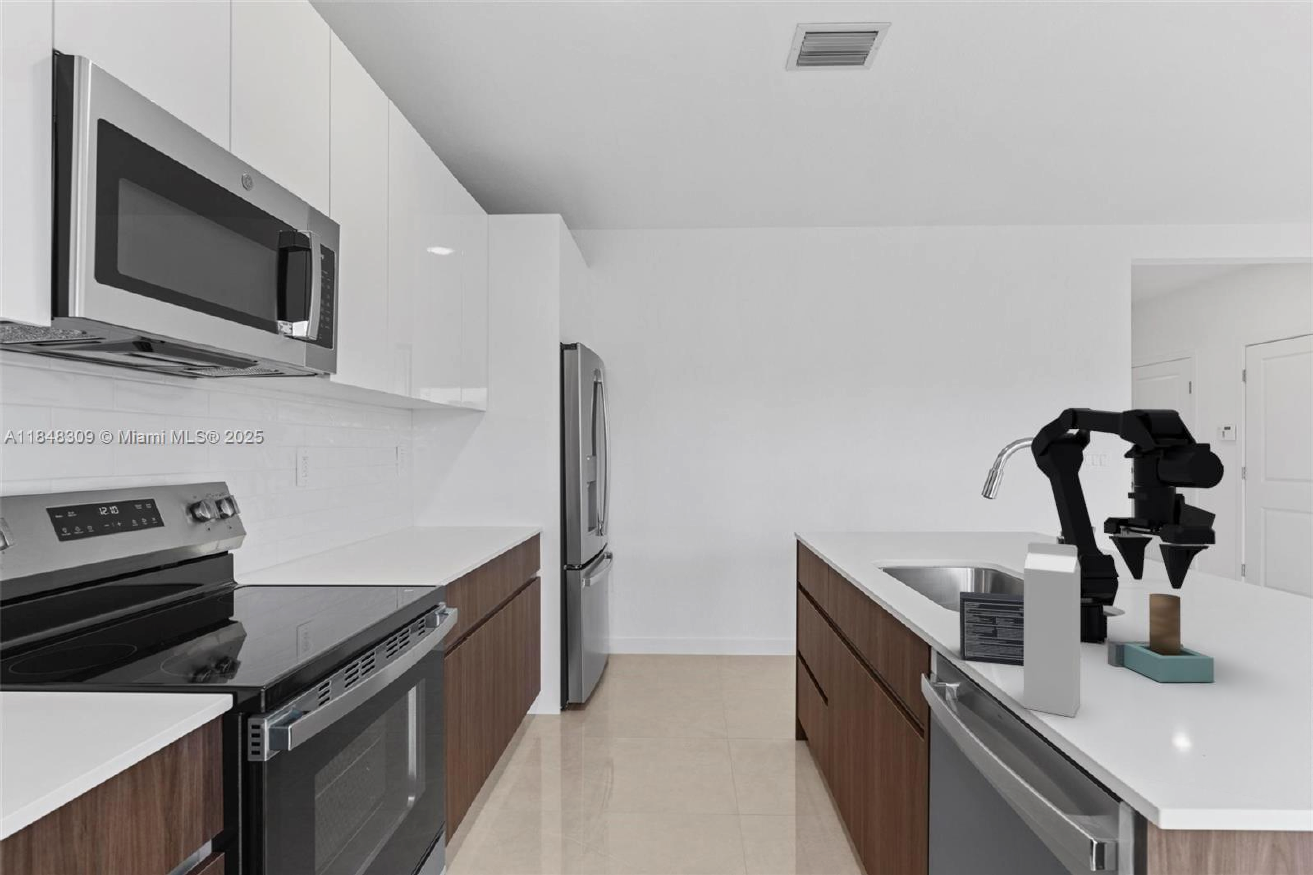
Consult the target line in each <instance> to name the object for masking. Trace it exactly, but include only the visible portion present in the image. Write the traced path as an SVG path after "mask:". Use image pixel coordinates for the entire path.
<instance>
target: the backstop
mask: <svg viewBox="0 0 1313 875" xmlns="http://www.w3.org/2000/svg"><path fill="white" fill-rule="evenodd" d="M1124 644H1150V641H1107V664H1108V665H1111V666H1114V667H1116V668H1123V667H1124V668H1125V667H1126V666H1124ZM1181 646H1182V647H1184V644H1183V643H1181ZM1126 668H1127V667H1126Z"/></svg>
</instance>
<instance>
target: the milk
mask: <svg viewBox="0 0 1313 875" xmlns="http://www.w3.org/2000/svg"><path fill="white" fill-rule="evenodd" d="M1023 595H1024V665H1023V708H1024V709H1029V710H1033V711H1039V712H1042V713H1043V712H1044V713H1047V714H1048V713H1049V714H1054V715H1059V716H1064V717H1069V718H1074V717H1075V715H1076V714H1077V712H1078V710H1079V708H1080V706H1081V641H1080V564H1079V561H1078V558H1077V547H1076V546H1075V545H1066V544H1065V543H1063V544H1061V543H1059V544H1058V543H1048V542H1037V541H1036V542H1033V541H1030V542H1029V543H1028V544H1027V555H1026V559H1025V563H1024V566H1023Z"/></svg>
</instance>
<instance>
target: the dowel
mask: <svg viewBox="0 0 1313 875" xmlns="http://www.w3.org/2000/svg"><path fill="white" fill-rule="evenodd" d="M1148 597H1149V599H1148V600H1149V601H1148V602H1149V603H1148V604H1149V613H1148V614H1149V615H1148V618H1149V621H1148V622H1149V629H1148V630H1149V634H1148V635H1149V641H1148V642H1150V651H1152V652H1154V653H1157V654H1159V655H1162V656H1181V644H1182V643H1181V635H1182V634H1181V633H1182V632H1181V629H1182V628H1181V626H1182V625H1181V623H1182V622H1181V597H1180V596H1178V595H1175V594H1168V593H1150V594H1149V596H1148Z"/></svg>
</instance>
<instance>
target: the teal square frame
mask: <svg viewBox="0 0 1313 875" xmlns="http://www.w3.org/2000/svg"><path fill="white" fill-rule="evenodd" d="M1214 659H1215V658H1214V657H1211V656H1208V655H1205V654H1203V653H1200V652H1197V651H1195V650H1191V649H1190V648H1188V647H1184V646H1183V647H1182V646H1181V656H1162V655H1159V654H1157V653H1154V652H1152V651H1150V644H1124V666H1126V668H1128V669H1131V670H1133V671H1135V672H1137V673H1139V674H1142V675H1144V676H1146V677H1149V678H1150V679H1152V680H1155V681H1157V682H1159V683H1215V681H1214V680H1215V675H1214V674H1215V672H1214V671H1215V669H1214V668H1215V666H1214V664H1215V663H1214V661H1215V660H1214Z"/></svg>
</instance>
